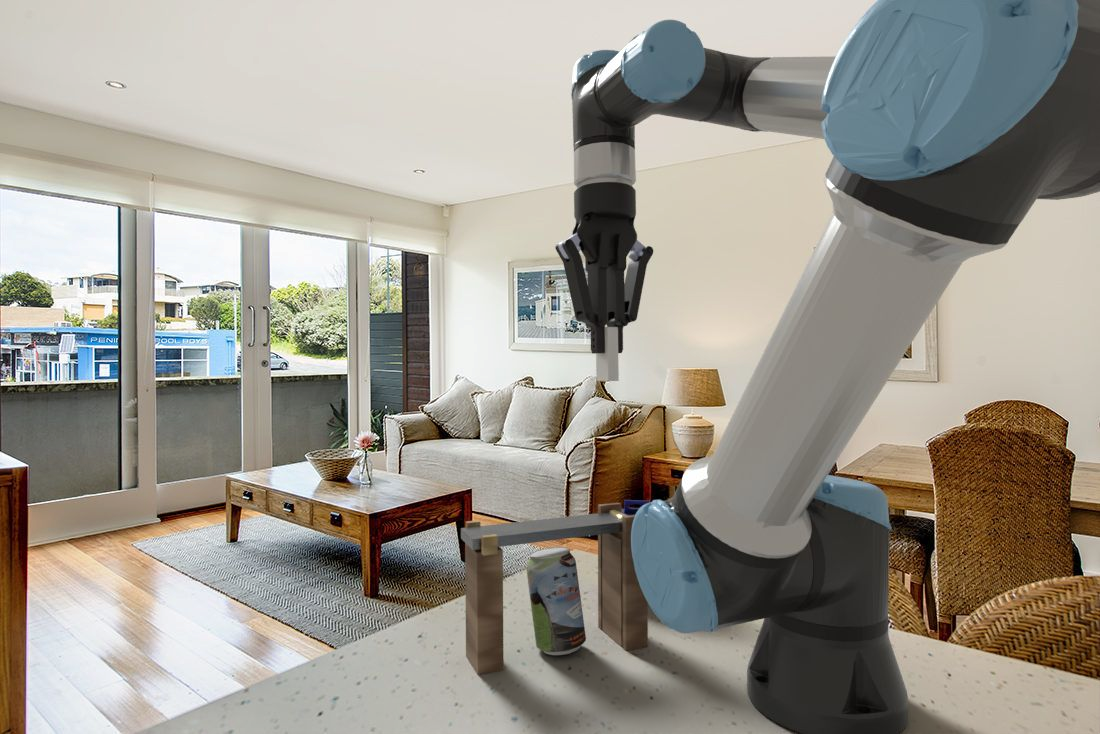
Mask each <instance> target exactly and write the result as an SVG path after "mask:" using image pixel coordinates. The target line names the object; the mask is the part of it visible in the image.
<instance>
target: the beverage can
mask: <svg viewBox="0 0 1100 734" xmlns="http://www.w3.org/2000/svg"><path fill="white" fill-rule="evenodd" d="M528 556H529V559H528V560H527V563H526V566H525V568H526V577H527V578H526V579H527V585H528V593H529V600H530V606H531V607H530V608H531V609H530V610H531V616H532V622H533V623H532V624H533V632H534V638H535V646H536V648H537V649H538V650H540V651H542V652H543V653H544V654H546V655H549V656H563V655H568V654H571V653H572V654H573V653H574V652H576V651H578V650H579V649H580V648H581V647H582V645H583V644H585V643H586V640H587V636H586V629H585V621H584V615H583V613H584V612H583V605H582V600H581V598H582V597H581V589H580V584H579V576H578V569H577V562H576V558H575V557H574V556H573V554H572V553H571V551H570V548H568V547H564V546H559V547H558V546H556V547H555V546H554V547H547V548H540V549H538V550H535V551H532V552H531V553H529V555H528Z"/></svg>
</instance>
